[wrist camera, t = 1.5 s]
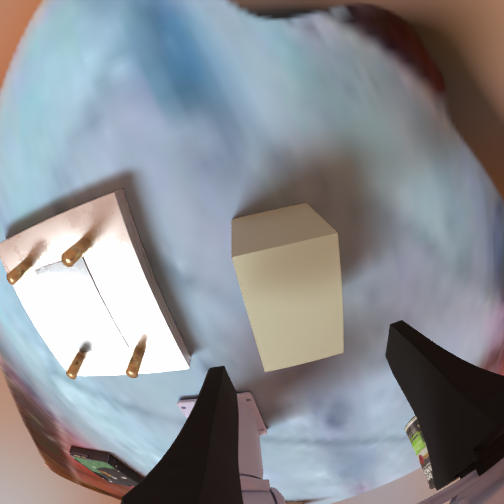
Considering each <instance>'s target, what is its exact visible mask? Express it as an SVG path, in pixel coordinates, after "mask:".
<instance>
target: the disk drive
mask: <svg viewBox="0 0 504 504" xmlns="http://www.w3.org/2000/svg"><path fill="white" fill-rule="evenodd" d="M70 453H71V454H70V455H71V456H72V457H73V458H74V459H75V460H76V461H78V462H79V463H81V464H82V465H84V466H85V467H87V468H88V469H89V470H91V471H92V472H94V473H95V474H97V475H98V476H100V477H101V478H103V479H105V480H106V481H108V482H110V483H114V484H120V485H125V486H132V485H133V486H136V485H137V484H138V483H140V482H141V481H142V480H143V479H144V478H143V477H141V476H140V475H138V474H137V473H135V472H134V471H132V470H131V469H129V468H128V467H127V466H125V465H124V464H123V463H121V462H120V461H119V460H117V459H116V458H114V457H113V456H112V455H111V454H109V453H104V452H98V451H92V450H87V449H82V448H77V447H72V446H71V449H70Z"/></svg>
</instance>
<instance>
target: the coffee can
mask: <svg viewBox="0 0 504 504" xmlns="http://www.w3.org/2000/svg"><path fill="white" fill-rule="evenodd" d="M405 432H406V433H407V435H408V437H409V439H410V442H411V444H412V446H413V448H414V450H415V453H416V455H417V457H418V459H419V462H420V464H421V466H422V468H423V471H424V473H425V475H426V478H427V481H428V483H429V486H430V489H433V488H435V485H434V479H433V473H432V468H431V463H430V458H429V454H428V451H427V447H426V443H425V440H424V437H423V434H422V431H421V428H420V426H419V423H418V420H417V418H416V416H415V417H414V418H413V419H412V420H411V421H410V422H409V423H408V424H407V425H406V427H405Z"/></svg>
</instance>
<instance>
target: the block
mask: <svg viewBox="0 0 504 504" xmlns="http://www.w3.org/2000/svg"><path fill="white" fill-rule="evenodd" d="M232 260H233V264H234V267H235V271H236V275H237V278H238V282H239V285H240V289H241V292H242V296H243V299H244V303H245V306H246V310H247V313H248V317H249V320H250V323H251V327H252V330H253V334H254V337H255V340H256V344H257V347H258V351H259V354H260V357H261V361H262V364H263V367H264V370H265V372H269V371H274V370H278V369H283V368H287V367H291V366H296V365H300V364H304V363H308V362H312V361H315V360H319V359H323V358H327V357H330V356H334V355H337V354H340V353H344V342H343V301H342V282H341V267H340V254H339V242H338V233H337V232H336V231H335V230H334V229H333V228H332V227H331V226H330V225H329V224H328V223H327V222H326V221H325V220H324V219H323V218H322V217H321V216H320V215H319V214H318V213H316V212H315V211H314V210H313V209H312V208H311V207H310V206H309V205H308V204H307V203H302V204H297V205H293V206H288V207H283V208H279V209H274V210H270V211H265V212H261V213H256V214H252V215H248V216H243V217H239V218H235V219H232Z"/></svg>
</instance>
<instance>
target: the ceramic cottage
mask: <svg viewBox="0 0 504 504" xmlns="http://www.w3.org/2000/svg"><path fill="white" fill-rule="evenodd" d="M286 504H304V502H286Z"/></svg>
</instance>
